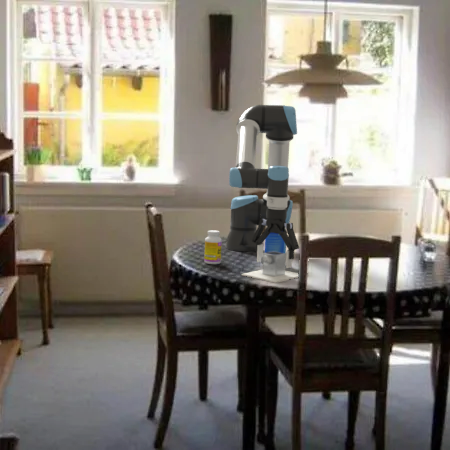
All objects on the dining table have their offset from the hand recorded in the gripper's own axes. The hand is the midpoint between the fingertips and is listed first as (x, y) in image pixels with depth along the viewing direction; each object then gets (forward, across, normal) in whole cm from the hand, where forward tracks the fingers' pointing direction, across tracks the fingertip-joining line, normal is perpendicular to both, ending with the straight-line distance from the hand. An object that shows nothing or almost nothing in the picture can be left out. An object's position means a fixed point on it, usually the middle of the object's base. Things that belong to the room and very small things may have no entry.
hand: (274, 264), depth 295 cm
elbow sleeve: (+4, 0, -1) cm, 4 cm away
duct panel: (+4, 0, 0) cm, 4 cm away
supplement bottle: (+4, -31, 0) cm, 31 cm away
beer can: (+4, -12, +16) cm, 21 cm away
